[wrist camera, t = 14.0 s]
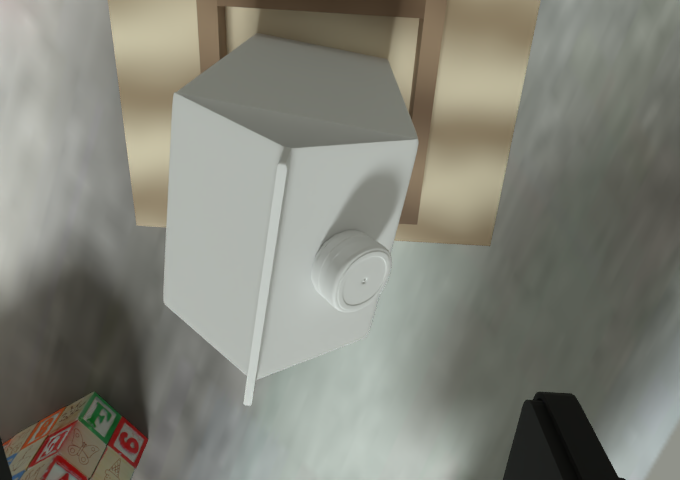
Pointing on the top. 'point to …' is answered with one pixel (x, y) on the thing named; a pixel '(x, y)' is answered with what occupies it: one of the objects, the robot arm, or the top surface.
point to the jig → (361, 37)
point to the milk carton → (284, 200)
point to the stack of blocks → (77, 445)
